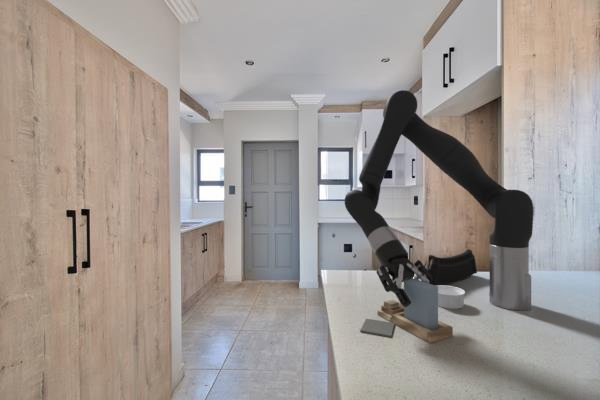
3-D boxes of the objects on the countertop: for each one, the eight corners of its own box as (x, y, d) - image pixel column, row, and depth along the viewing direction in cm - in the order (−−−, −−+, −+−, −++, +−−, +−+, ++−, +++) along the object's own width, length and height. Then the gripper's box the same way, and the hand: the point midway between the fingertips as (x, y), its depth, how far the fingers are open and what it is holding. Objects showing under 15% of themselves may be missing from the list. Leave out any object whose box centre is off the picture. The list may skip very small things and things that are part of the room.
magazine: (472, 251, 117) (427, 235, 102) (480, 252, 115) (436, 236, 99) (465, 294, 115) (419, 284, 100) (473, 296, 112) (427, 287, 97)
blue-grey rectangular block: (404, 324, 72) (403, 280, 72) (414, 321, 74) (414, 278, 74) (427, 336, 66) (427, 288, 66) (438, 333, 68) (438, 286, 67)
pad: (394, 324, 72) (394, 323, 72) (391, 337, 66) (391, 335, 66) (366, 320, 75) (366, 318, 75) (360, 331, 69) (360, 330, 69)
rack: (377, 314, 78) (376, 301, 78) (397, 309, 82) (397, 296, 82) (430, 343, 63) (430, 326, 63) (452, 335, 66) (452, 320, 66)
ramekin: (460, 313, 79) (460, 297, 79) (427, 305, 85) (427, 290, 85) (468, 303, 86) (468, 289, 86) (437, 296, 92) (436, 283, 92)
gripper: (372, 240, 74) (407, 299, 64) (413, 236, 80) (451, 290, 70) (360, 257, 79) (390, 315, 69) (399, 252, 85) (432, 304, 75)
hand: (421, 302), depth 70 cm, fingers open, 8 cm apart
